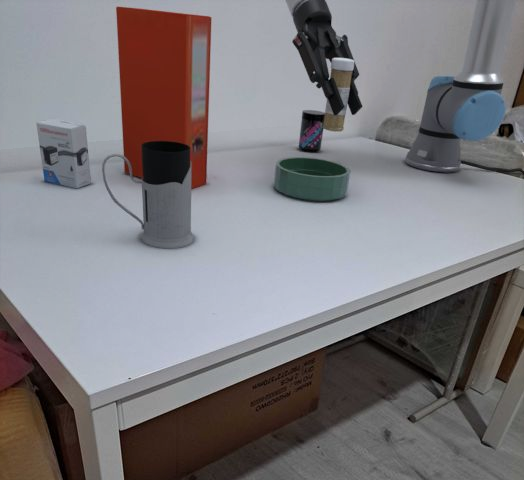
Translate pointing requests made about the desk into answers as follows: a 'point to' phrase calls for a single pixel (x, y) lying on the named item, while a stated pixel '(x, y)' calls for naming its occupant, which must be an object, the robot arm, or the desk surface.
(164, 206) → the glass holder
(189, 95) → the file binder
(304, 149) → the supplement container
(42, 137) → the ink box
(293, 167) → the bowl
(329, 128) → the sprinkles bottle
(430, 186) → the desk surface
